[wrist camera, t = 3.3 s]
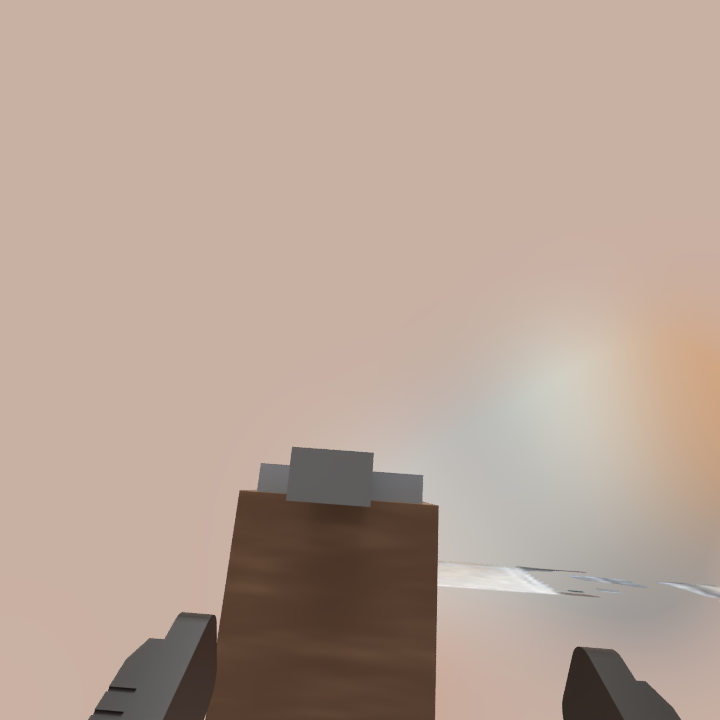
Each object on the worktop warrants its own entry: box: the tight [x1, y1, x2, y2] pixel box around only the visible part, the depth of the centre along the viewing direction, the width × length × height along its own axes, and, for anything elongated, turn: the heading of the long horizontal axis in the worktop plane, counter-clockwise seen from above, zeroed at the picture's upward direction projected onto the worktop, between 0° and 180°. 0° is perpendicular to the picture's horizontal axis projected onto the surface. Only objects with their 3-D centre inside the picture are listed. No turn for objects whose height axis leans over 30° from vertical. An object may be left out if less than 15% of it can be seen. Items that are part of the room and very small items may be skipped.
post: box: [205, 490, 438, 720], centre depth 32 cm, size 14×14×30 cm
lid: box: [257, 447, 423, 507], centre depth 31 cm, size 23×12×2 cm, turn 0°
